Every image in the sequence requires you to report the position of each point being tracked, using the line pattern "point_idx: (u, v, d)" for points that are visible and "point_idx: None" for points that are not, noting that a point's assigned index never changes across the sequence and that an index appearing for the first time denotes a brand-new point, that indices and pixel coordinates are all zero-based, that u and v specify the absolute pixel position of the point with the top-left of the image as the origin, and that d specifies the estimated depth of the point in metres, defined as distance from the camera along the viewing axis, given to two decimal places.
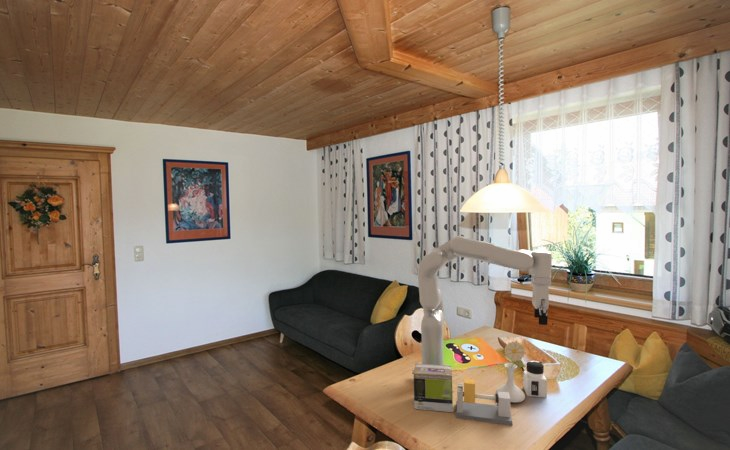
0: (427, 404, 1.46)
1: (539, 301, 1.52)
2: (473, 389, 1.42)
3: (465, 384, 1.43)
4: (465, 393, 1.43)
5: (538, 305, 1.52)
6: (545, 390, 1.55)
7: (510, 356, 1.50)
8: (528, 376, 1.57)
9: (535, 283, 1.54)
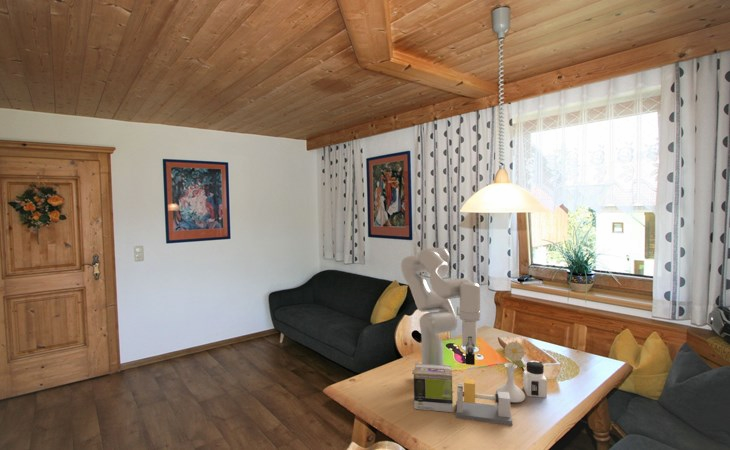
0: (427, 404, 1.46)
1: (466, 339, 1.38)
2: (473, 389, 1.42)
3: (465, 384, 1.43)
4: (465, 393, 1.43)
5: (465, 343, 1.39)
6: (545, 390, 1.55)
7: (510, 356, 1.50)
8: (528, 376, 1.57)
9: (462, 318, 1.41)
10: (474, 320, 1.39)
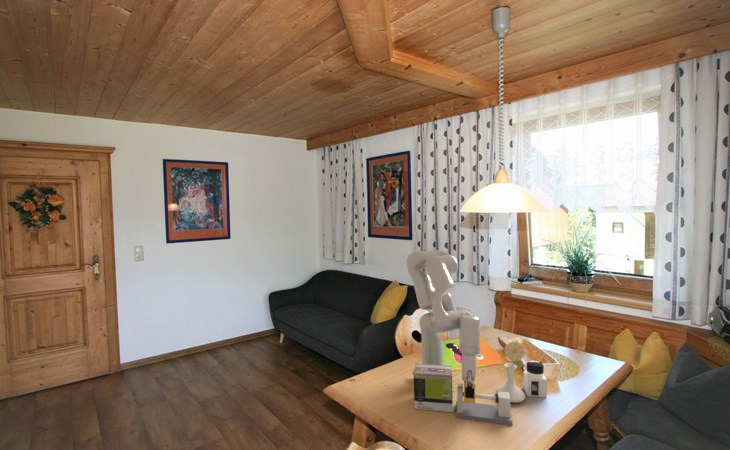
0: (427, 404, 1.46)
1: (465, 372, 1.39)
2: None
3: (465, 384, 1.43)
4: None
5: (464, 377, 1.39)
6: (545, 390, 1.55)
7: (510, 356, 1.50)
8: (528, 376, 1.57)
9: (462, 351, 1.42)
10: (474, 354, 1.40)
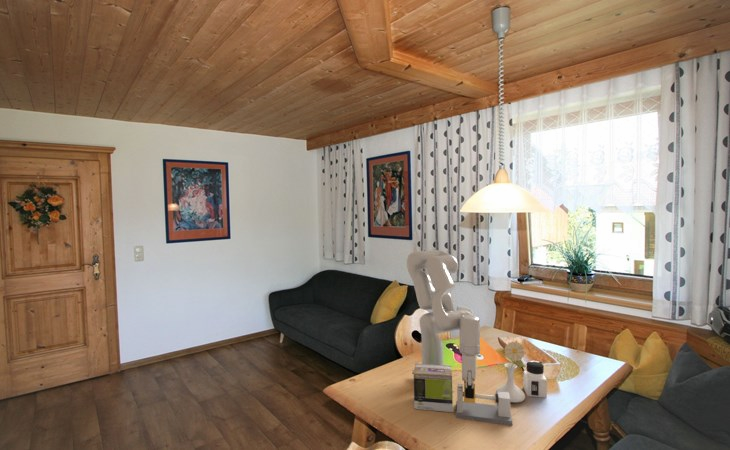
0: (427, 404, 1.46)
1: (465, 373, 1.39)
2: None
3: (465, 384, 1.43)
4: None
5: (464, 377, 1.40)
6: (545, 390, 1.55)
7: (510, 356, 1.50)
8: (528, 376, 1.57)
9: (462, 352, 1.42)
10: (474, 354, 1.40)
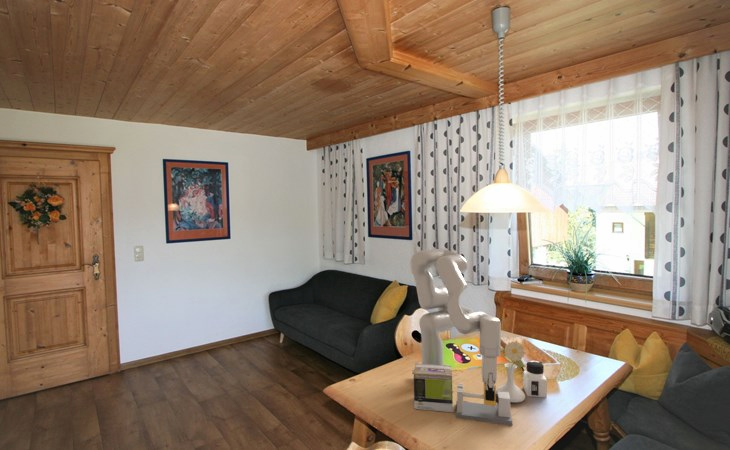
0: (427, 404, 1.46)
1: (486, 375, 1.37)
2: None
3: (485, 386, 1.41)
4: None
5: (485, 379, 1.38)
6: (545, 390, 1.55)
7: (510, 356, 1.50)
8: (528, 376, 1.57)
9: (482, 354, 1.40)
10: (495, 356, 1.38)
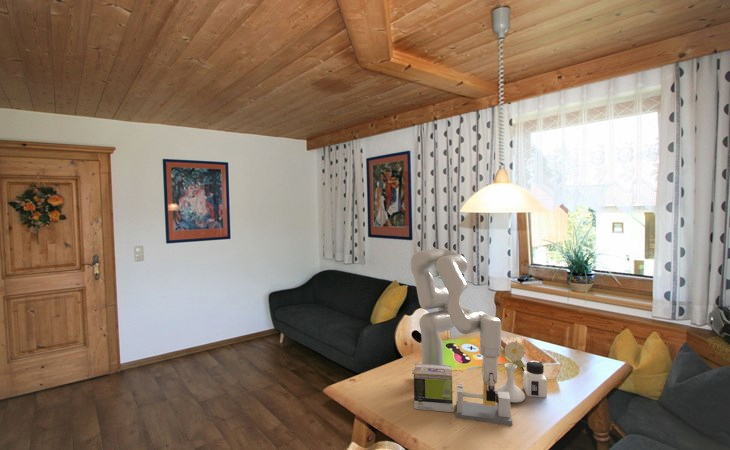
0: (427, 404, 1.46)
1: (487, 375, 1.37)
2: None
3: (485, 386, 1.41)
4: (485, 395, 1.41)
5: (486, 379, 1.38)
6: (545, 390, 1.55)
7: (510, 356, 1.50)
8: (528, 376, 1.57)
9: (483, 354, 1.40)
10: (495, 356, 1.38)
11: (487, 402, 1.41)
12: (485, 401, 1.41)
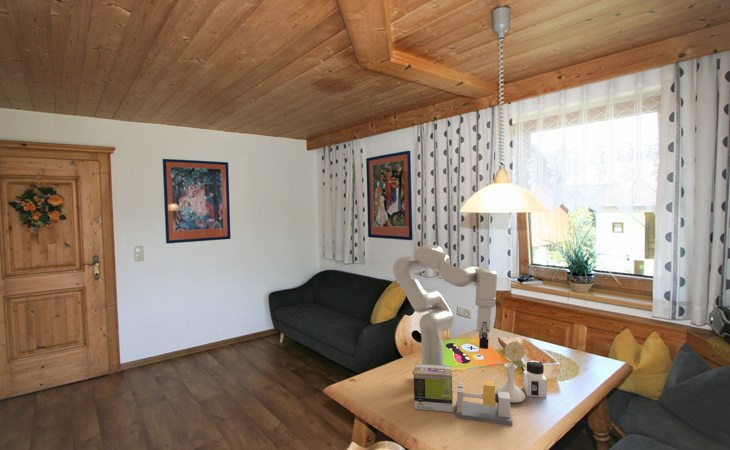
0: (427, 404, 1.46)
1: (480, 324, 1.43)
2: (493, 391, 1.40)
3: (485, 386, 1.41)
4: (485, 395, 1.41)
5: (479, 328, 1.44)
6: (545, 390, 1.55)
7: (510, 356, 1.50)
8: (528, 376, 1.57)
9: (478, 304, 1.45)
10: (489, 306, 1.43)
11: (487, 402, 1.41)
12: (485, 401, 1.41)
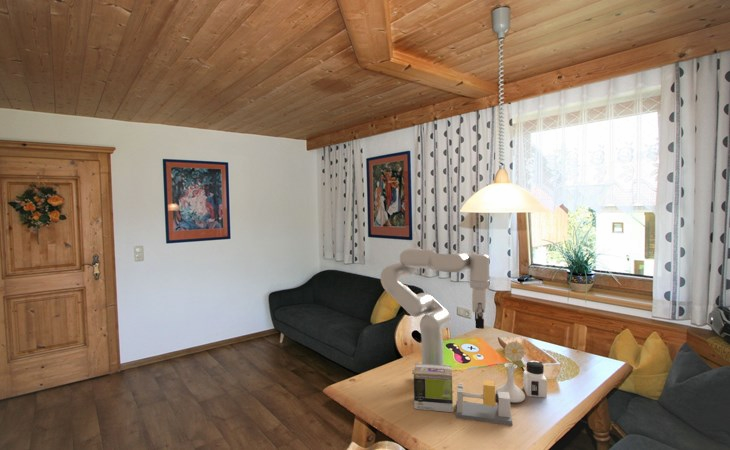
0: (427, 404, 1.46)
1: (476, 305, 1.51)
2: (493, 391, 1.40)
3: (485, 386, 1.41)
4: (485, 395, 1.41)
5: (475, 309, 1.51)
6: (545, 390, 1.55)
7: (510, 356, 1.50)
8: (528, 376, 1.57)
9: (473, 286, 1.53)
10: (483, 288, 1.52)
11: (487, 402, 1.41)
12: (485, 401, 1.41)
